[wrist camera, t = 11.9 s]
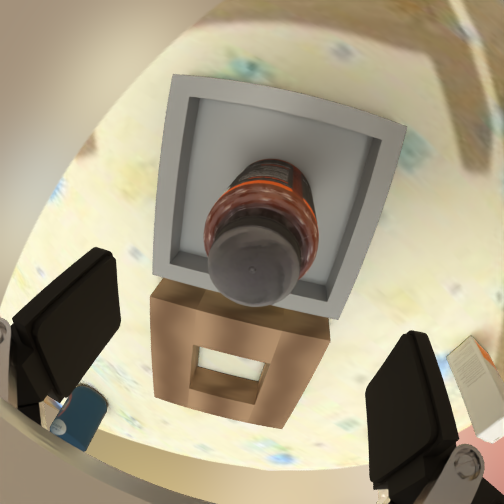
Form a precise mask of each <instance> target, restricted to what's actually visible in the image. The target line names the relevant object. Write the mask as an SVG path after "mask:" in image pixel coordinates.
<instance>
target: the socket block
mask: <svg viewBox="0 0 504 504" xmlns="http://www.w3.org/2000/svg"><path fill="white" fill-rule="evenodd" d="M150 329H151V353H152V370H153V384H154V396H155V397H156V398H159V399H162V400H165V401H168V402H171V403H174V404H178V405H181V406H184V407H187V408H191V409H194V410H198V411H201V412H205V413H209V414H213V415H217V416H221V417H225V418H229V419H233V420H238V421H242V422H247V423H251V424H256V425H262V426H267V427H273V428H278V429H282V428H283V427H284V425H285V423H286V422H287V420H288V418H289V417H290V415H291V413H292V412H293V410H294V408H295V406H296V405H297V403H298V401H299V399H300V398H301V396H302V394H303V392H304V391H305V389H306V387H307V385H308V383H309V381H310V380H311V378H312V376H313V374H314V372H315V370H316V368H317V366H318V365H319V363H320V361H321V359H322V357H323V355H324V353H325V351H326V349H327V347H328V345H329V343H330V331H329V320H328V318H327V317H322V316H317V315H313V314H308V313H304V312H299V311H295V310H290V309H286V308H281V307H277V306H273V305H268V306H262V307H250V306H244V305H241V304H237V303H235V302H234V301H231V300H230V299H228V298H226V297H225V296H224V295H223V294H221V293H219V292H215V291H212V290H208V289H204V288H200V287H196V286H193V285H189V284H185V283H181V282H178V281H174V280H170V279H167V278H163V279H162V280H161V282H160V283H159V285H158V286H157V287H156V289H155V290H154V291H153V293H152V294H151V296H150ZM199 347H204V348H208V349H211V350H215V351H219V352H223V353H227V354H231V355H235V356H239V357H243V358H247V359H252V360H256V361H260V362H265V365H264V368H263V371H262V374H261V376H260V379H259V382H257V381H253V380H248V379H244V378H240V377H236V376H232V375H228V374H224V373H220V372H216V371H212V370H208V369H205V368H201V367H197V365H198V356H199Z"/></svg>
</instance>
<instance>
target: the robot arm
mask: <svg viewBox="0 0 504 504" xmlns="http://www.w3.org/2000/svg"><path fill="white" fill-rule="evenodd" d="M12 320H13V322H14V323H13V324H12V325H11V326H10V325H9V323H8V322H7V321H6V320H5V319H3V318H0V504H215V503H211V502H208V501H204V500H200V499H197V498H193V497H190V496H186V495H184V494H180V493H177V492H174V491H171V490H168V489H166V488H163V487H160V486H157V485H155V484H152V483H149V482H147V481H144V480H142V479H139V478H137V477H135V476H132V475H130V474H128V473H125V472H123V471H121V470H119V469H117V468H114V467H112V466H110V465H108V464H106V463H104V462H102V461H100V460H98V459H96V458H94V457H92V456H90V455H89V454H87V453H85V452H83V451H81V450H79V449H78V448H76V447H74V446H72V445H71V444H69V443H67V442H66V441H64V440H62V439H61V438H59V437H57V436H56V435H54V434H53V433H51V432H50V431H48V430H47V425H46V418H45V409H44V399H45V397H46V396H47V395H48V396H49V397H51V398H52V399H54V400H56V401H57V402H59V403H60V402H61V401H62V400H63V398H64V397H65V398H66V397H68V396H70V394H71V393H72V392H73V390H74V389H75V387H76V386H77V385H78V383H79V382H80V380H81V379H82V377H83V376H84V375H85V373H86V372H87V370H88V369H89V368H90V366H91V365H92V364H93V362H94V361H95V359H96V358H97V357H98V355H99V354H100V353H101V351H102V350H103V349H104V347H105V346H106V345H107V343H108V342H109V341H110V339H111V338H112V337H113V335H114V334H115V333H116V331H117V330H118V328H119V326H120V323H121V316H120V306H119V296H118V284H117V269H116V259H115V258H114V257H113V255H112V253H111V252H110V251H107V250H104V249H101V248H98V247H94V248H93V249H91V250H90V251H89V252H87V253H86V254H85V255H84V256H82V257H81V258H80V259H79V260H77V261H76V262H75V263H74V264H73V265H71V266H70V267H69V268H68V269H67V270H65V271H64V272H63V273H62V274H61V275H59V276H58V277H57V278H56V279H55V280H53V281H52V282H51V283H50V284H49V285H48V286H47V287H45V288H44V289H43V290H42V291H41V292H40V293H39V294H38V295H36V296H35V297H34V298H33V299H32V300H31V301H30V302H29V303H28V304H26V305H25V306H24V307H23V308H22V309H21V310H20V311H19V312H18V313H17V314H16V315H15V316H14V317H13V318H12ZM365 398H366V411H367V425H368V443H369V471H370V472H369V475H370V480H371V482H373V485H374V486H373V489H374V490H382V489H388V497H387V498H386V500H385V501H384V502H383V503H382V504H504V495H503V494H502V493H501V492H499V491H498V490H497V489H496V488H495V487H494V486H492V485H491V484H490V483H489V482H488V481H487V480H486V479H484V478H483V473H484V460H483V457H482V456H481V453H480V452H479V451H478V450H477V449H476V448H475V447H473V446H472V445H469V444H461V445H459V446H457V447H456V441H458V440H459V436H458V432H457V428H456V424H455V420H454V416H453V412H452V408H451V405H450V401H449V398H448V394H447V391H446V388H445V385H444V381H443V378H442V375H441V372H440V369H439V366H438V363H437V360H436V357H435V354H434V352H433V349H432V346H431V343H430V341H429V338H428V336H427V334H426V333H422V332H417V331H412V330H411V331H409V332H407V334H403V335H402V336H401V337H400V339H399V341H398V342H397V344H396V345H395V347H394V348H393V350H392V351H391V353H390V354H389V356H388V357H387V359H386V360H385V362H384V363H383V365H382V366H381V368H380V369H379V371H378V372H377V373H376V375H375V376H374V378H373V379H372V380H371V382H370V383H369V384H368V386H367V388H366V392H365Z"/></svg>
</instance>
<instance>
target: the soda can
mask: <svg viewBox="0 0 504 504" xmlns="http://www.w3.org/2000/svg"><path fill="white" fill-rule="evenodd" d="M106 412H107V405H106V400H105V399H104V398H103V396H102V395H101V394H99V393H98V392H97V391H95V390H94V389H92V388H90V387H88V386H85V385H82V386H79V387H76V388H75V389H74V390H73V392H72V393H71V394H70V396H69V397H68V399H67V400H66V402H65V403H64V405H63V406H62V408H61V410H60V411H59V413H58V414H57V416H56V418H55V419H54V421H53V422H52V424H51V426H50V432H51V433H53V434H54V435H56V436H57V437H59V438H61V439H62V440H64V441H66V442H67V443H69V444H71V445H72V446H74V447H76V448H78V449H79V450H81V451H83V452H84V451H86V450H87V448H88V446H89V444H90V442H91V440H92V438H93V436H94V434H95V432H96V430H97V429H98V427H99V425H100V423H101V421H102V419H103V418H104V416H105V414H106Z"/></svg>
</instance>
